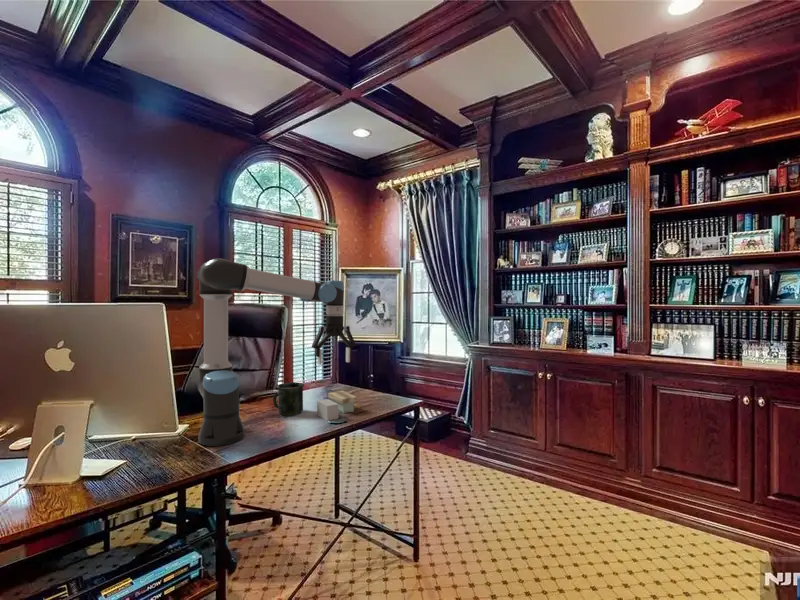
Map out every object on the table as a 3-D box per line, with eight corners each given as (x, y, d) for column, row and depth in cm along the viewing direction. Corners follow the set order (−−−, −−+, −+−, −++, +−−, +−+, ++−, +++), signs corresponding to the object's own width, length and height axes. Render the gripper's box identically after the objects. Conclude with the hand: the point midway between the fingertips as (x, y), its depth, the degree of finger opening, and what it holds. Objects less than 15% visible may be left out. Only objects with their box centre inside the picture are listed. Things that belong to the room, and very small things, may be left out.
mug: (309, 411, 181) (309, 384, 181) (282, 419, 170) (282, 390, 169) (293, 407, 188) (292, 381, 188) (265, 415, 176) (265, 387, 176)
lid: (342, 403, 177) (342, 399, 177) (328, 397, 188) (328, 392, 188) (356, 401, 181) (356, 396, 181) (342, 395, 192) (342, 390, 192)
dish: (343, 413, 178) (343, 403, 178) (331, 407, 188) (331, 397, 188) (353, 411, 181) (353, 401, 181) (341, 405, 191) (341, 395, 191)
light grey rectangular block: (327, 420, 168) (327, 406, 168) (317, 414, 176) (317, 400, 176) (338, 418, 171) (338, 404, 171) (328, 412, 179) (328, 399, 179)
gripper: (311, 315, 174) (310, 366, 174) (363, 315, 188) (362, 362, 188) (304, 315, 180) (303, 364, 180) (355, 314, 194) (355, 360, 194)
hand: (333, 363), depth 184 cm, fingers open, 13 cm apart
